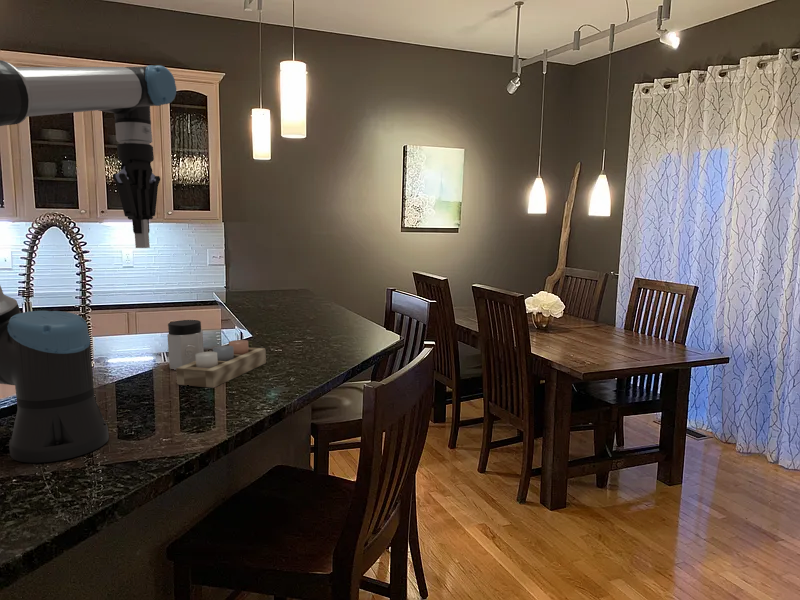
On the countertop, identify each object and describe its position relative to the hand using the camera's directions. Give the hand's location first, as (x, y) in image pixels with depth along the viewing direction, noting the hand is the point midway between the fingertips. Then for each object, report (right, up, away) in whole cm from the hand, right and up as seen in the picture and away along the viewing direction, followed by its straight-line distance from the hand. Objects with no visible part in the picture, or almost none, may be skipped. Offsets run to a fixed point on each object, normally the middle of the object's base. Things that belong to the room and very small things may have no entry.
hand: (142, 247), depth 141 cm
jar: (+4, -30, +19) cm, 36 cm away
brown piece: (+17, -28, +19) cm, 38 cm away
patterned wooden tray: (+15, -31, +12) cm, 37 cm away
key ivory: (+13, -30, +6) cm, 33 cm away
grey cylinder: (+15, -29, +12) cm, 35 cm away
